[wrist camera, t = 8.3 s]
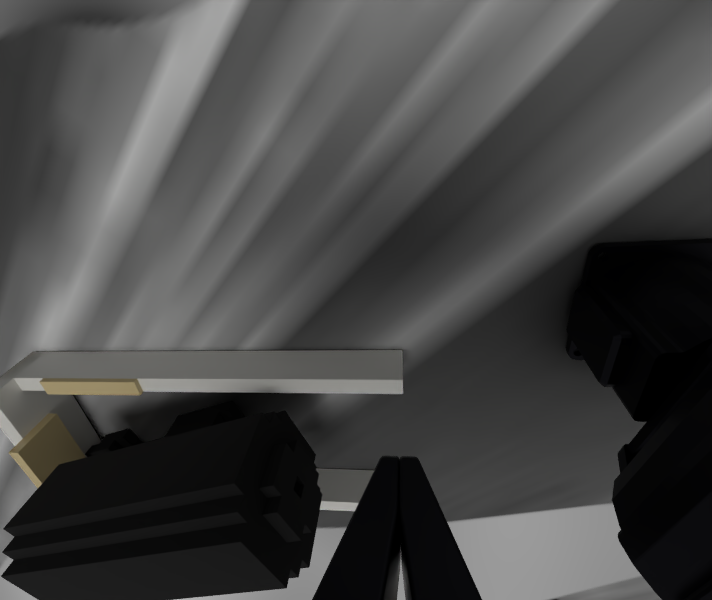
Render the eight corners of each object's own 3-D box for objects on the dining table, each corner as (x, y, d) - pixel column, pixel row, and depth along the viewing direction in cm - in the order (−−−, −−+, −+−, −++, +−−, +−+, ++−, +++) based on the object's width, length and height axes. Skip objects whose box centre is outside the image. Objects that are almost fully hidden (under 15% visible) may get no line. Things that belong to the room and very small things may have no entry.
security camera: (77, 416, 28) (-63, 567, 20) (296, 351, 23) (236, 517, 15) (138, 474, 31) (39, 626, 23) (344, 428, 26) (317, 603, 18)
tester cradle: (402, 349, 22) (402, 416, 18) (406, 480, 28) (407, 553, 24) (32, 351, 25) (-42, 409, 21) (107, 469, 31) (61, 532, 27)
